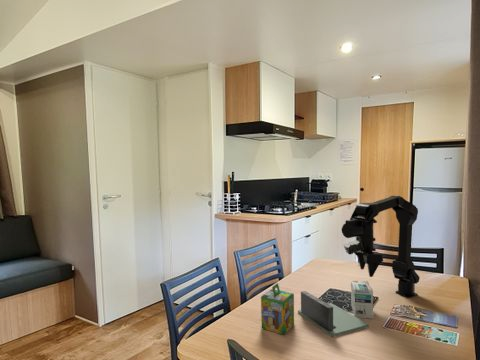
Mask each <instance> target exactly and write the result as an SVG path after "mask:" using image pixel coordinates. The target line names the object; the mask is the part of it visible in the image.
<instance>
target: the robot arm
mask: <svg viewBox="0 0 480 360" xmlns="http://www.w3.org/2000/svg"><path fill="white" fill-rule="evenodd" d="M389 209H392V211H394V212H395V218H396V220H397V223H398V224H399V227H398V229H399V231H398V248H397V249H398V250H397V251H398V253H397V257H396V259H394V260H392V264H391V265H392V266H391V270H392V273H393V277H394V279H397V280H398V284H397V290H395V291H394V292H395V293H396V294H399V295H401V296H403V297H405V298H412V297H415V296H418V295H419V294H418V292H415V288H416V287H415V286H416V285H415V284H418V283H419V281H420V276H419V274H418V273H417V272H416V268H415V263H414V262H413V260H412V240H413V238H412V237H413V225H414V223H416V221H417V220H418V213H419V209H418V207H417V205H414V204H413V203H412V202H410V201H408V200H406V199H405V198H404V197H402V196H400V195H390V196H389V197H385V198H383V199H380V200H376V201H374V202H359V203H357V204H356V205H355V208H354V209H353V211H352V214H351V217H350V218H349V219H347V220H345V222H344V224H343V225H342V227H341V233H342V235H343V236H344V237H345V238H346V239H349V238H350V239H351V238H352V239H353V238H355V240H352V241H349V242H347V243H344V244H343V247H344V250H345V252H346V253H347V254H348V255H353V254H354V255H356V257H357V261H358V263H359V267H360V270H364V269H365V266H366V264H367V272H368V276H369V277H370V278H373V277H374V275H375V273H376V271H377V270H378V267H379V266H380V265H381V264H382V262H384V256H383V254H381V253H379V252H378V251H376V248H375V245H374V242H376V238H375V237H374V224H377V223H378V220H376V219H375V218H376V217H378V215H379V214H380V213H381V212H384V211H387V210H389Z"/></svg>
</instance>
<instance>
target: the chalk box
mask: <svg viewBox="0 0 480 360" xmlns="http://www.w3.org/2000/svg"><path fill="white" fill-rule="evenodd" d="M276 289H277V290H276ZM294 296H295V294H294V293H291V292H288V291H285V290H280V286H279V283H278V282H277V283H275V284H274V285H273V286H272V289H269V290H268V291H267V292H266V293H264V294H263V295H261V296H260V307H261V308H260V311H261V312H260V313H261V319H260V320H261V330H265V331H266V330H267V331H269V332H272V333H273V332H274V333H277V334H280V335H284V336H285V335H286V334H287V333H288V332H289V330H290V329H292V327H293V326H294V325H295V299H294V298H295V297H294Z"/></svg>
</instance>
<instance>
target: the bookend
mask: <svg viewBox="0 0 480 360" xmlns="http://www.w3.org/2000/svg"><path fill="white" fill-rule="evenodd" d="M300 310H301V313H303V314H304V315H305V316H307V317H308V318H310V319H311V320H313V321H314V322H315V323H317V324H318V325H320V326H321V327H323V328H324V329H326V330H327V331H328V332H329V331H332V330H333V328H336V326H334V325H333V307H332V306H331V305H329V303H327V302H326V301H324V300H322V299H320V298H318V297H317V296H315V295H314V294H311V293H310V292H308V291H306V290H303V291H300Z"/></svg>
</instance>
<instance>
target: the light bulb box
mask: <svg viewBox="0 0 480 360" xmlns="http://www.w3.org/2000/svg"><path fill="white" fill-rule="evenodd" d="M350 286H351V287H350V288H351V292H350V293H351V294H350V295H351V296H350V297H351V298H350V299H351V300H350V302H351V303H350V304H351V308H352V309H351V310H352V312H353V313H352V314H353V316H355V317H357V318H359V319H361V318H362V319H374V290H373V288H372V287H371V286H370V283H369V281H368V280H354V279H353V280H352V279H351V280H350Z"/></svg>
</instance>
